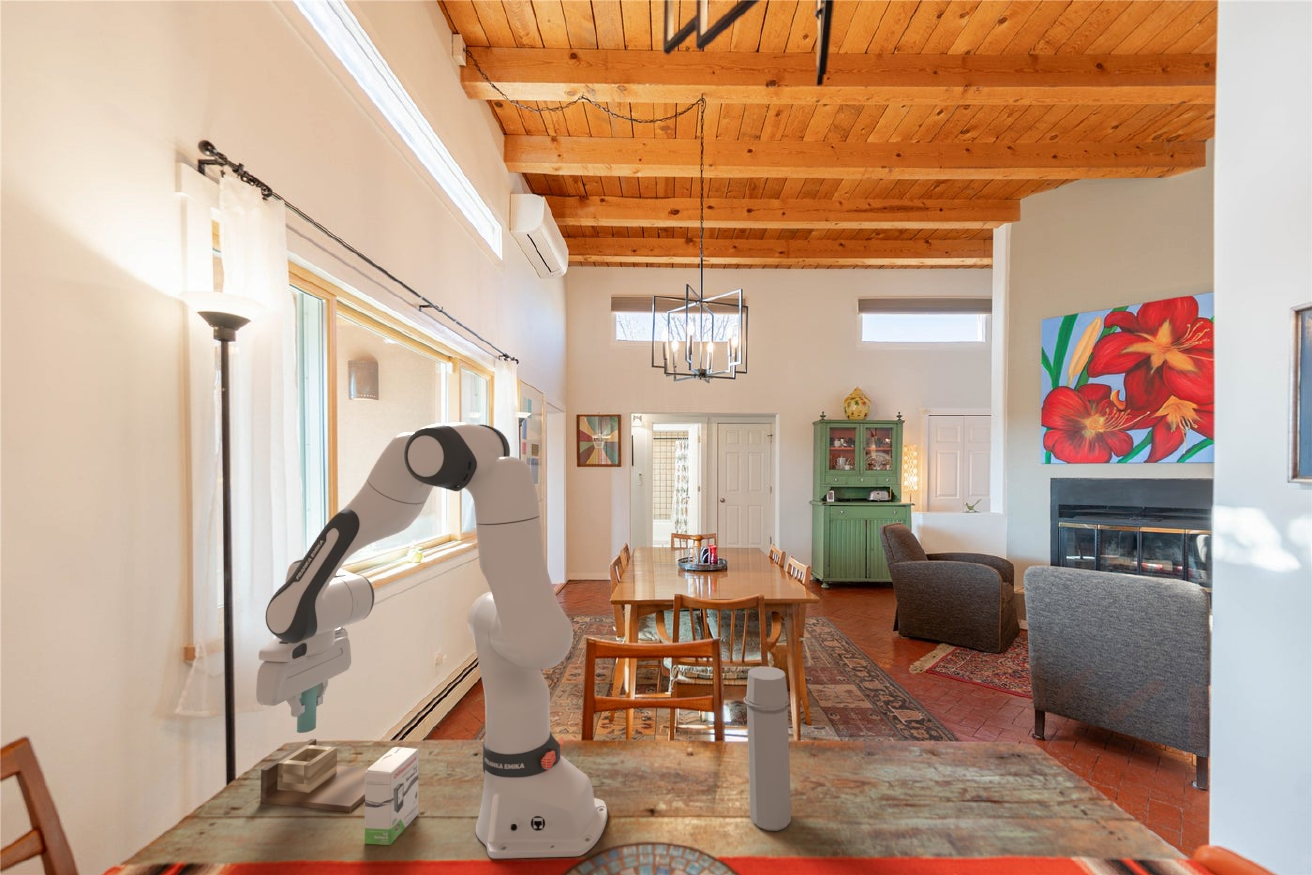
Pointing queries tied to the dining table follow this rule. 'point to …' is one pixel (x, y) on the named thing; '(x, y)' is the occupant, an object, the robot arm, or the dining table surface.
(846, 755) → the dining table surface
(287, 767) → the wooden square socket
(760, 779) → the water bottle
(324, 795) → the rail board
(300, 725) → the dowel
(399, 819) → the ink box
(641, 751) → the dining table surface
